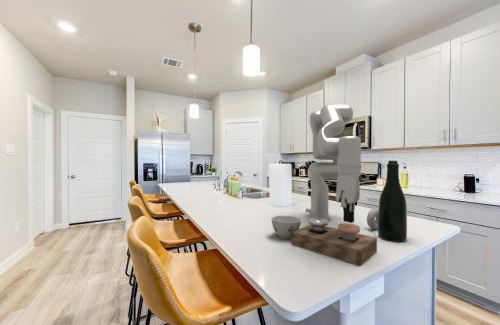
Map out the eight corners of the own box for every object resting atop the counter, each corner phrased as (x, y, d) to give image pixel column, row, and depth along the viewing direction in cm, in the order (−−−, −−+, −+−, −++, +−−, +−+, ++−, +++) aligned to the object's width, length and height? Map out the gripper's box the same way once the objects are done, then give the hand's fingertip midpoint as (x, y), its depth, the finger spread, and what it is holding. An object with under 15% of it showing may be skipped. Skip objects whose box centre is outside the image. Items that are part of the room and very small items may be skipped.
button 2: (334, 241, 84) (334, 226, 84) (342, 236, 89) (343, 222, 89) (354, 246, 79) (355, 230, 78) (362, 241, 84) (362, 226, 84)
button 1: (305, 233, 92) (305, 219, 92) (314, 229, 97) (314, 216, 97) (322, 238, 87) (322, 223, 87) (331, 233, 92) (331, 219, 92)
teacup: (306, 239, 97) (306, 220, 96) (280, 243, 92) (280, 223, 92) (288, 229, 111) (288, 212, 111) (264, 232, 106) (264, 215, 106)
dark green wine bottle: (405, 236, 100) (406, 160, 100) (407, 244, 91) (408, 160, 91) (378, 232, 106) (379, 160, 105) (377, 239, 97) (378, 160, 96)
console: (291, 244, 92) (291, 231, 91) (312, 234, 103) (312, 223, 103) (360, 265, 73) (360, 250, 73) (376, 251, 84) (376, 237, 84)
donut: (371, 231, 107) (371, 210, 106) (364, 229, 110) (365, 208, 110) (385, 228, 111) (385, 208, 111) (378, 226, 114) (378, 206, 114)
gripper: (347, 169, 91) (346, 216, 91) (329, 171, 80) (329, 223, 81) (367, 170, 86) (367, 219, 86) (351, 172, 75) (350, 228, 76)
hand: (348, 221), depth 83 cm, fingers closed
